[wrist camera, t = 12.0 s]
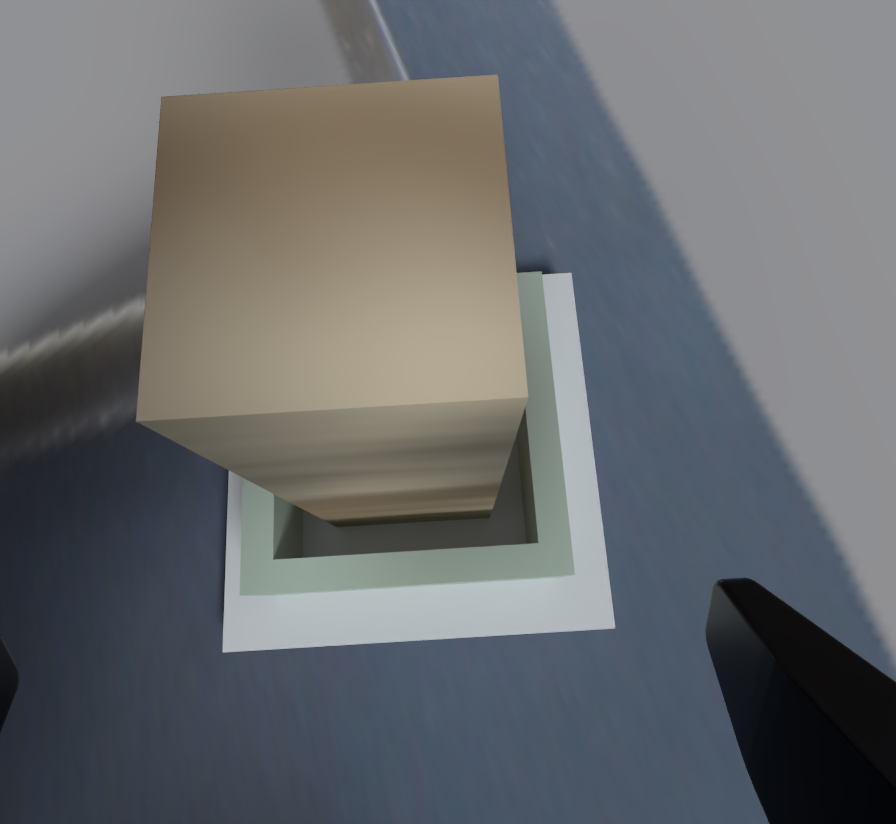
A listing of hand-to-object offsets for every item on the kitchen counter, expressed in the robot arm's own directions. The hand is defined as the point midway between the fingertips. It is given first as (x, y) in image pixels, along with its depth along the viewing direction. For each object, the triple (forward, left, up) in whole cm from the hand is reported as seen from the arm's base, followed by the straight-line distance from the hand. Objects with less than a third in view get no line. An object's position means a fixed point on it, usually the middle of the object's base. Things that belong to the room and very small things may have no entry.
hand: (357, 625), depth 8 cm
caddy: (+5, 0, -12) cm, 13 cm away
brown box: (+5, 0, -11) cm, 12 cm away
